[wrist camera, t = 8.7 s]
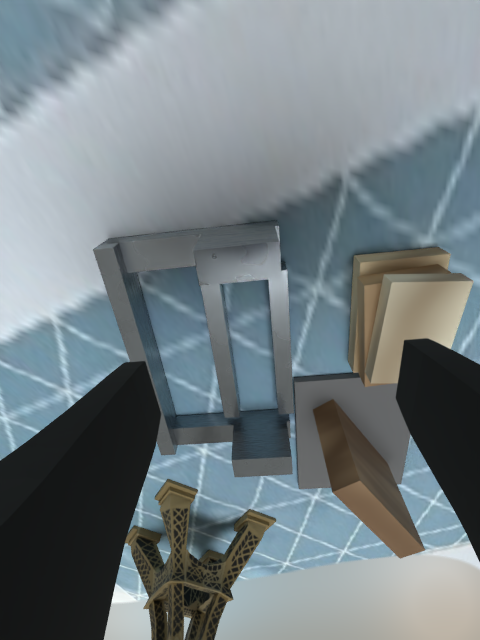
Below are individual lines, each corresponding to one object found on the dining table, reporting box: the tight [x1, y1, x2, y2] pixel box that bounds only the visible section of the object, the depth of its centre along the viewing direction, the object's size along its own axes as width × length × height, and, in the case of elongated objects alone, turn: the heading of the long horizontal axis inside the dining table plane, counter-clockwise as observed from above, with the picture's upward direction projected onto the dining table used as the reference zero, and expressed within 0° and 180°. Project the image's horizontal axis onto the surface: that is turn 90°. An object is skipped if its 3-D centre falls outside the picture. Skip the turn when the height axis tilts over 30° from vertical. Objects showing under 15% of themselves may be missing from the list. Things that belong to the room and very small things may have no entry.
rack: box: [93, 220, 294, 477], centre depth 19 cm, size 9×15×4 cm, turn 6°
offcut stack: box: [348, 247, 473, 387], centre depth 18 cm, size 4×7×3 cm, turn 6°
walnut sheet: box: [313, 399, 425, 558], centre depth 21 cm, size 2×8×6 cm, turn 38°
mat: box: [294, 373, 410, 489], centre depth 24 cm, size 8×11×1 cm
